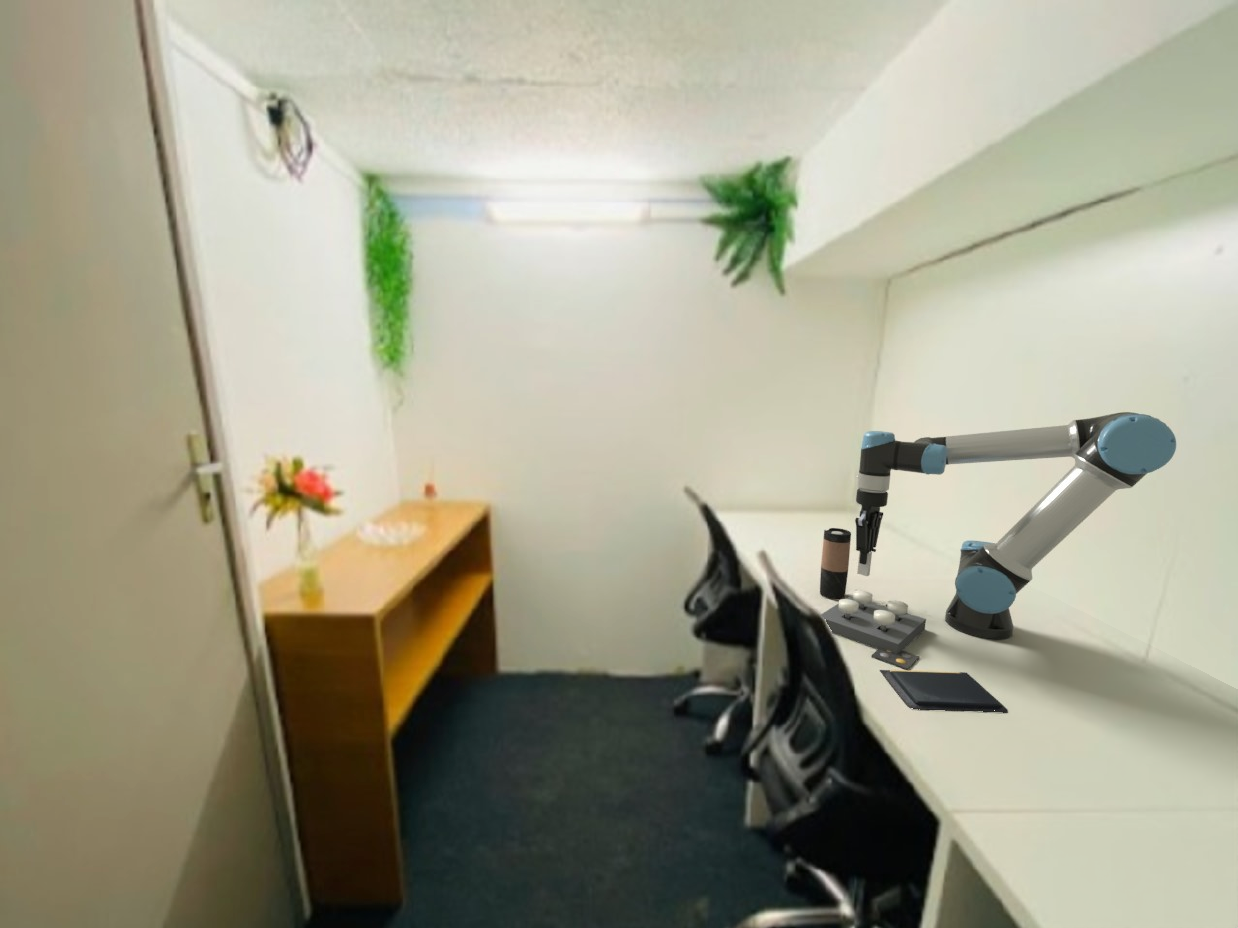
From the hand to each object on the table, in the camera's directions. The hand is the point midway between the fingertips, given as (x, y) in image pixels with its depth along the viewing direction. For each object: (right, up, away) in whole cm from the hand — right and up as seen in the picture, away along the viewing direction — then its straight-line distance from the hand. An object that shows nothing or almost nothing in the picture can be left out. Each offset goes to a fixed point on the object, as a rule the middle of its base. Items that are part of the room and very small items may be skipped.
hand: (863, 574), depth 147 cm
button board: (0, -13, -4) cm, 14 cm away
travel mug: (-2, -10, +17) cm, 20 cm away
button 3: (0, -10, +1) cm, 10 cm away
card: (-1, -16, -19) cm, 25 cm away
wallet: (+2, -19, -32) cm, 37 cm away
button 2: (0, -12, -11) cm, 17 cm away
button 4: (-6, -11, -5) cm, 14 cm away
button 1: (+6, -11, -5) cm, 14 cm away
